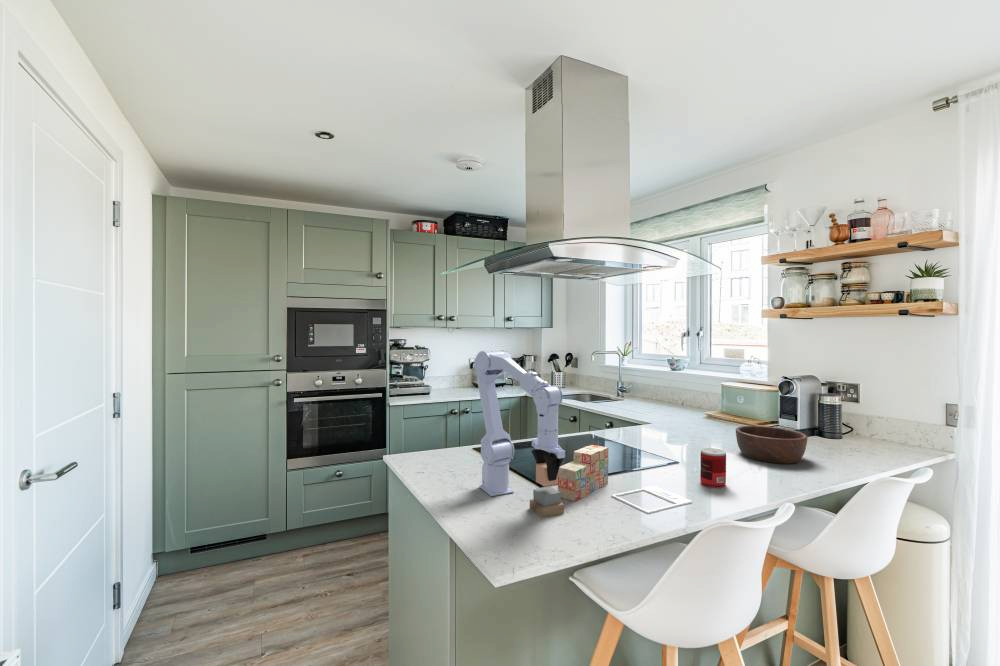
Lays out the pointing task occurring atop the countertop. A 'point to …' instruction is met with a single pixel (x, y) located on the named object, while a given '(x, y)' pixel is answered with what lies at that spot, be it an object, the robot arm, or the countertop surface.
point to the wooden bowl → (771, 444)
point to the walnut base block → (546, 509)
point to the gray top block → (546, 496)
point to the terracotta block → (544, 475)
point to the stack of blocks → (584, 473)
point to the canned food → (713, 467)
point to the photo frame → (659, 493)
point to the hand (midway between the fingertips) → (547, 477)
